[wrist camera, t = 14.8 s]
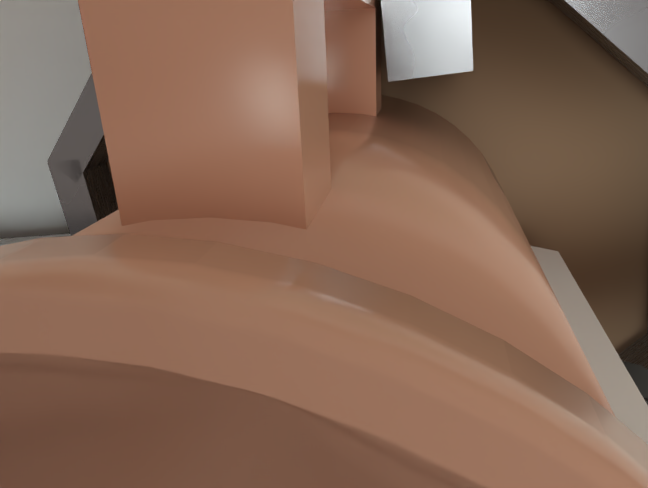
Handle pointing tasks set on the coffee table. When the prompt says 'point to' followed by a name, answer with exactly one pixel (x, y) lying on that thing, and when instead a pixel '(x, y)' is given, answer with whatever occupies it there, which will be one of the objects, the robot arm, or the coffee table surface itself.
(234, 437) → the terracotta mug
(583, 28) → the collar
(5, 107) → the coffee table surface
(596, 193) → the base plate
